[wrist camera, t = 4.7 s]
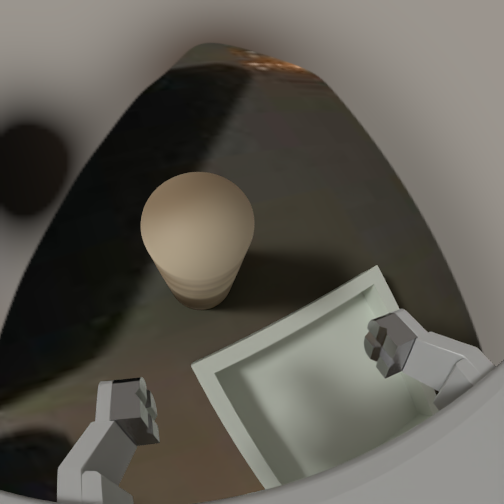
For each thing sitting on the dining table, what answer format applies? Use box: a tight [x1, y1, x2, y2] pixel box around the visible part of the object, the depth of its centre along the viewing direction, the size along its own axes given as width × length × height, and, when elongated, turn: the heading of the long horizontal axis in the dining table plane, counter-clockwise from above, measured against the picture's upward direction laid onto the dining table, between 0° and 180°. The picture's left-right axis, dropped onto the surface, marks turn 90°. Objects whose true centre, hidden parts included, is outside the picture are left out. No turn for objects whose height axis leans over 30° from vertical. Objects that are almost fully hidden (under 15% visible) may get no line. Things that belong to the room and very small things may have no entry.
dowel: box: [141, 172, 254, 310], centre depth 16 cm, size 4×4×10 cm
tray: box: [191, 265, 439, 489], centre depth 18 cm, size 14×14×3 cm
